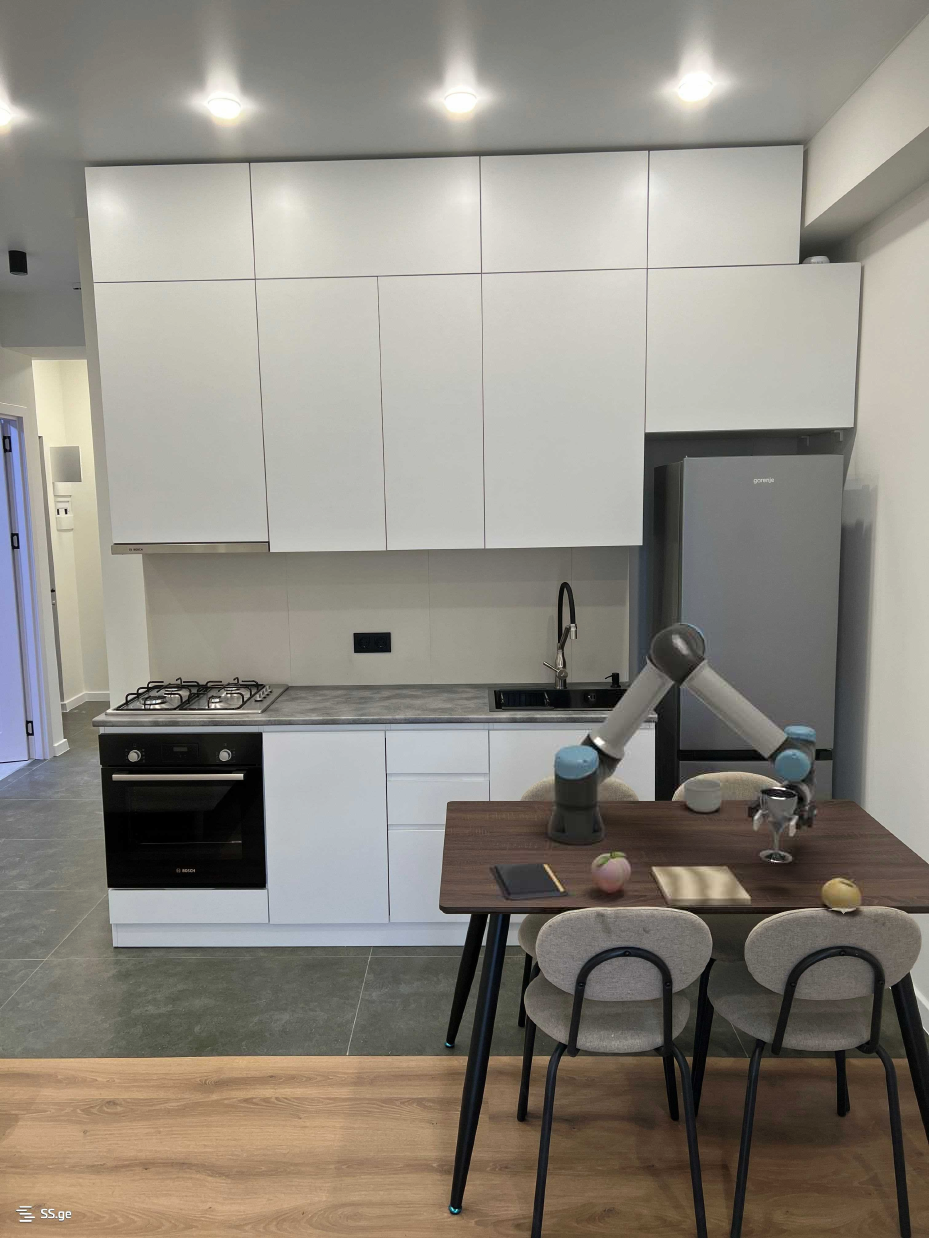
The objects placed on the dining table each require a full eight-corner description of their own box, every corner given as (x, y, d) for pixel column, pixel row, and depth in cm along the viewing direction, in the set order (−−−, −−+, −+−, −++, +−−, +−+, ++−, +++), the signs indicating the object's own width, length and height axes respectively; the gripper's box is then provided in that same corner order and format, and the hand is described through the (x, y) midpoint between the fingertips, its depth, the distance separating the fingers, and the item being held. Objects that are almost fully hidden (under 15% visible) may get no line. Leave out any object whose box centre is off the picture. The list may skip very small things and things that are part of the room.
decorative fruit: (607, 881, 204) (607, 840, 203) (636, 891, 198) (636, 849, 197) (582, 893, 198) (582, 851, 197) (611, 904, 192) (611, 860, 191)
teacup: (723, 816, 249) (723, 789, 248) (684, 814, 251) (684, 787, 250) (719, 801, 262) (719, 775, 262) (682, 799, 265) (682, 773, 264)
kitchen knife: (749, 791, 275) (749, 782, 275) (753, 791, 276) (753, 781, 275) (782, 808, 253) (782, 797, 253) (786, 808, 253) (786, 797, 253)
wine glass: (799, 863, 194) (802, 798, 192) (764, 863, 194) (766, 798, 193) (787, 850, 202) (789, 787, 200) (752, 849, 202) (755, 787, 200)
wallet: (489, 861, 214) (549, 858, 216) (489, 869, 214) (549, 865, 216) (503, 895, 194) (569, 891, 196) (503, 903, 194) (569, 899, 196)
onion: (821, 913, 187) (822, 881, 186) (820, 898, 194) (821, 867, 193) (862, 918, 184) (863, 886, 183) (859, 903, 191) (860, 872, 191)
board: (668, 905, 191) (669, 898, 191) (651, 872, 209) (651, 866, 209) (750, 904, 191) (750, 898, 191) (726, 872, 209) (726, 866, 209)
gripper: (834, 820, 208) (820, 852, 188) (749, 806, 218) (727, 835, 198) (836, 790, 207) (821, 818, 188) (750, 777, 217) (728, 803, 197)
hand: (773, 827), depth 193 cm, fingers closed on wine glass, 7 cm apart
